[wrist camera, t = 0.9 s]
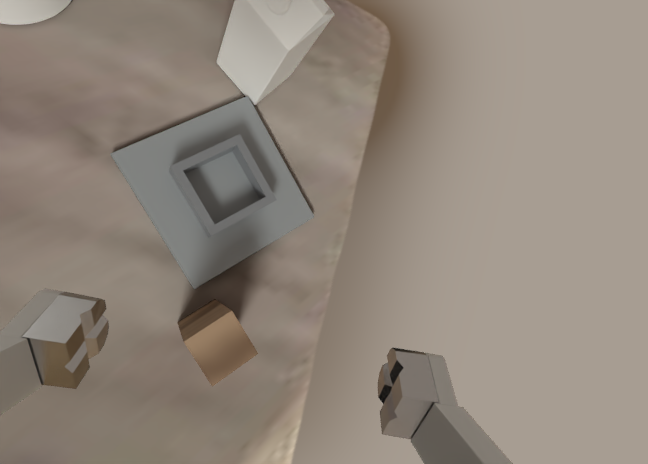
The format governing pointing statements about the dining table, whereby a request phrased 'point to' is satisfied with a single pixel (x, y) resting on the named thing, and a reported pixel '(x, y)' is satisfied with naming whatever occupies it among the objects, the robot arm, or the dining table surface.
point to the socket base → (214, 189)
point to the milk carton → (269, 41)
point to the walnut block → (216, 340)
